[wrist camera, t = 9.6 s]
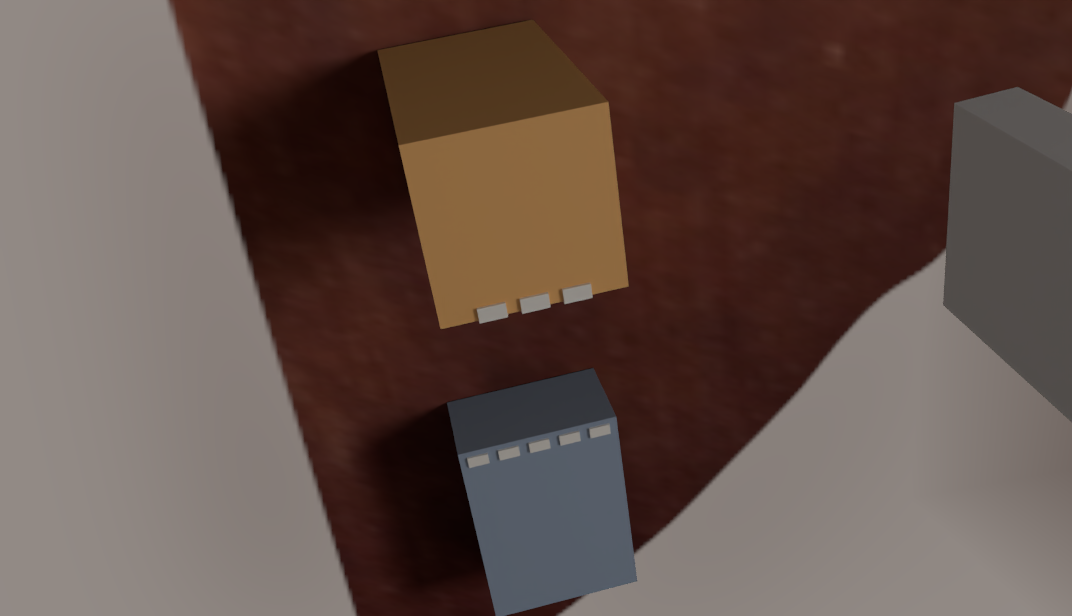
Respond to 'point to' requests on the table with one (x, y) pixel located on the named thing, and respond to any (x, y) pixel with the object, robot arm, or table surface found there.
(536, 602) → the grey connector module
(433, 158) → the orange connector module
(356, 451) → the table surface
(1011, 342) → the robot arm
